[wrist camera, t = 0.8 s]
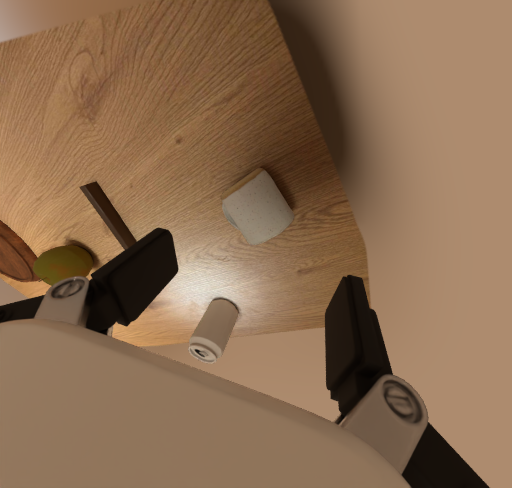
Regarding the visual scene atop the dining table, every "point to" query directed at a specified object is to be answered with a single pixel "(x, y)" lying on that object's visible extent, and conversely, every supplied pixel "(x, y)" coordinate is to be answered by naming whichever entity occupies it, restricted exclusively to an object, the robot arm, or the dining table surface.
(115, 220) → the back rail
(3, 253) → the cutting board
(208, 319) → the can
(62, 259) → the apple
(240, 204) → the ceramic mug
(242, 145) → the dining table surface
